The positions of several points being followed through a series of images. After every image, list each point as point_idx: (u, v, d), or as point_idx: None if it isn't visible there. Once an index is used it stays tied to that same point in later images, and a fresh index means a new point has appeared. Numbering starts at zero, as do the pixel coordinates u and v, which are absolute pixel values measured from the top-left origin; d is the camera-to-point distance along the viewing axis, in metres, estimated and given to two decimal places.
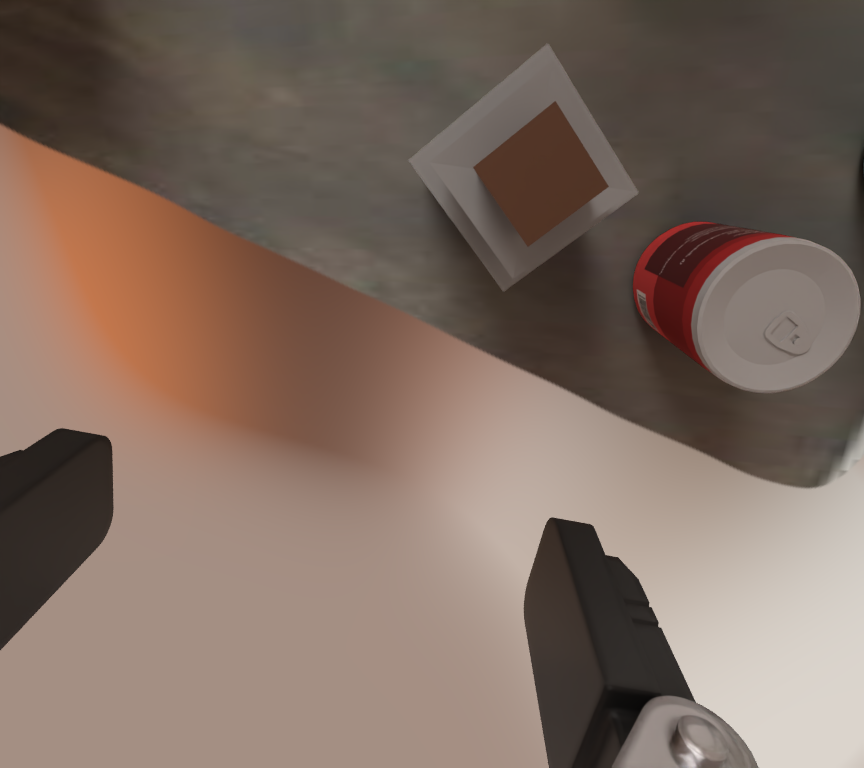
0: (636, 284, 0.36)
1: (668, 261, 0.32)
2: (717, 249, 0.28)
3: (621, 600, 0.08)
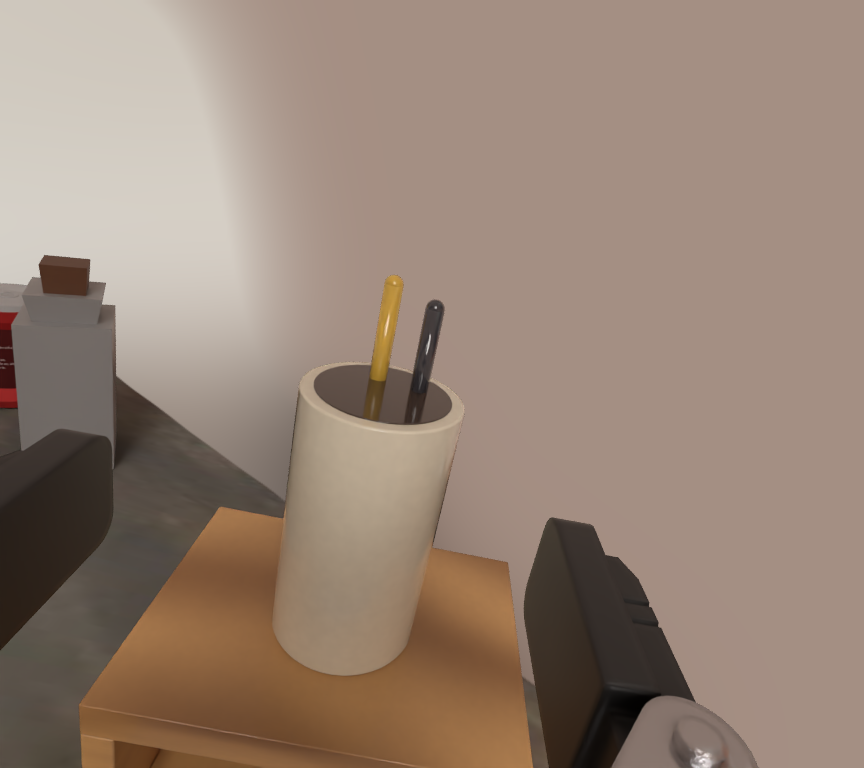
0: None
1: None
2: (3, 327, 0.53)
3: (621, 600, 0.08)
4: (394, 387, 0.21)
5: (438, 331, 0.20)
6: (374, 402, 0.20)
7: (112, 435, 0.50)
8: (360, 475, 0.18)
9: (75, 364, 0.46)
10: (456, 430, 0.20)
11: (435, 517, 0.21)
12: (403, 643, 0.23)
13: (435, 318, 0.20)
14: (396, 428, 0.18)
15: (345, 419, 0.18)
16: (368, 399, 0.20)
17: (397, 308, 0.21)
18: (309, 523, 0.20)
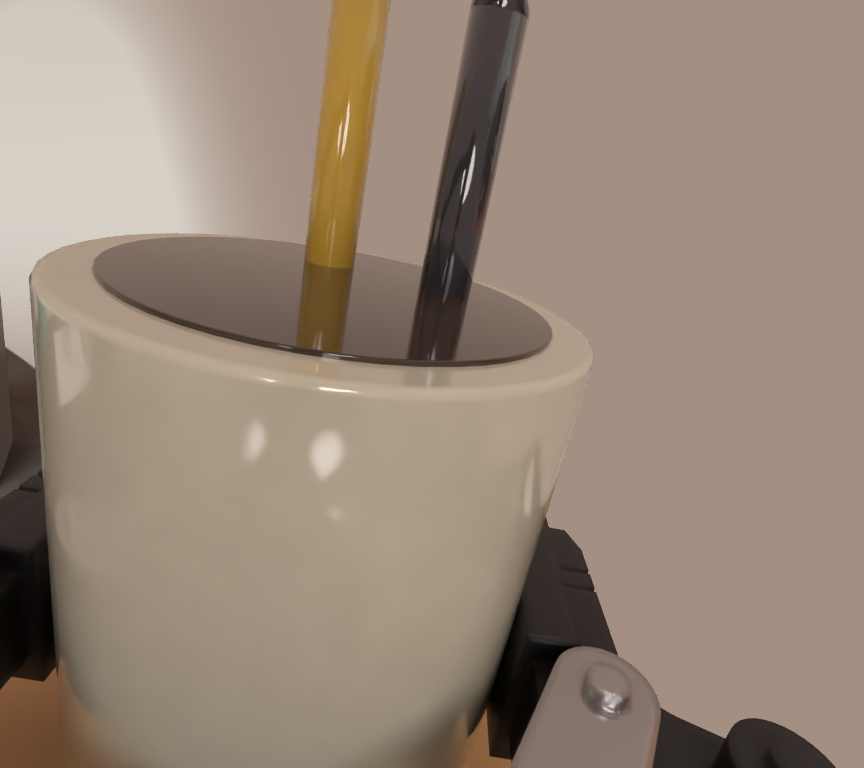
0: None
1: None
2: None
3: (557, 565, 0.08)
4: (374, 280, 0.07)
5: (509, 90, 0.07)
6: (301, 301, 0.06)
7: None
8: (230, 572, 0.04)
9: None
10: (581, 396, 0.06)
11: (499, 660, 0.07)
12: None
13: (502, 37, 0.06)
14: (374, 376, 0.04)
15: (146, 336, 0.04)
16: (281, 294, 0.06)
17: (379, 27, 0.07)
18: (86, 719, 0.06)
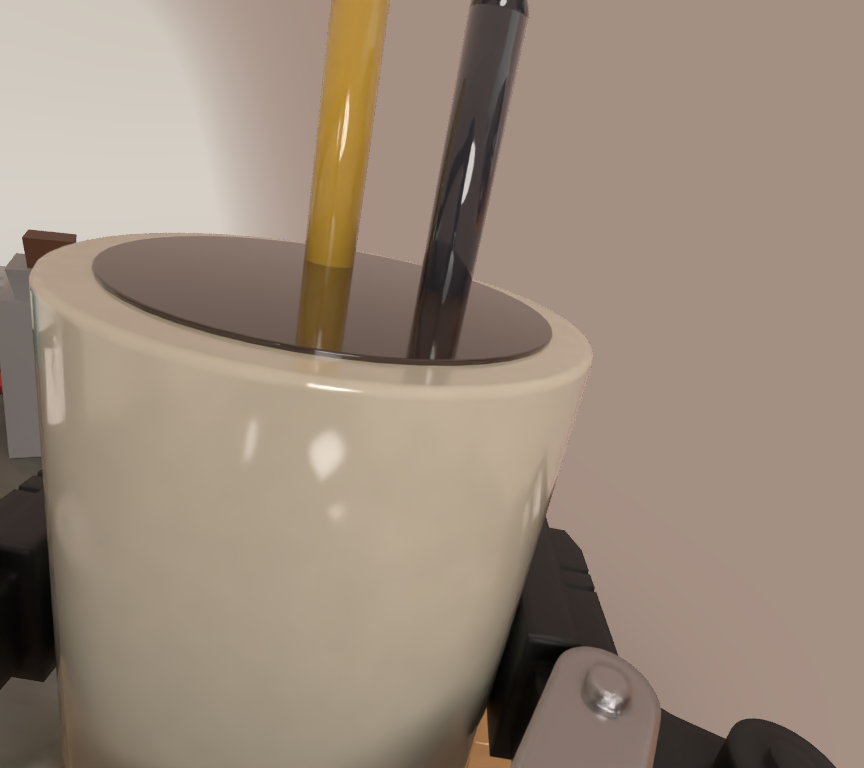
0: None
1: None
2: None
3: (557, 565, 0.08)
4: (374, 279, 0.07)
5: (508, 89, 0.07)
6: (301, 300, 0.06)
7: None
8: (229, 571, 0.04)
9: None
10: (581, 395, 0.06)
11: (499, 659, 0.07)
12: None
13: (501, 36, 0.06)
14: (374, 375, 0.04)
15: (145, 335, 0.04)
16: (281, 294, 0.06)
17: (379, 26, 0.07)
18: (86, 719, 0.06)
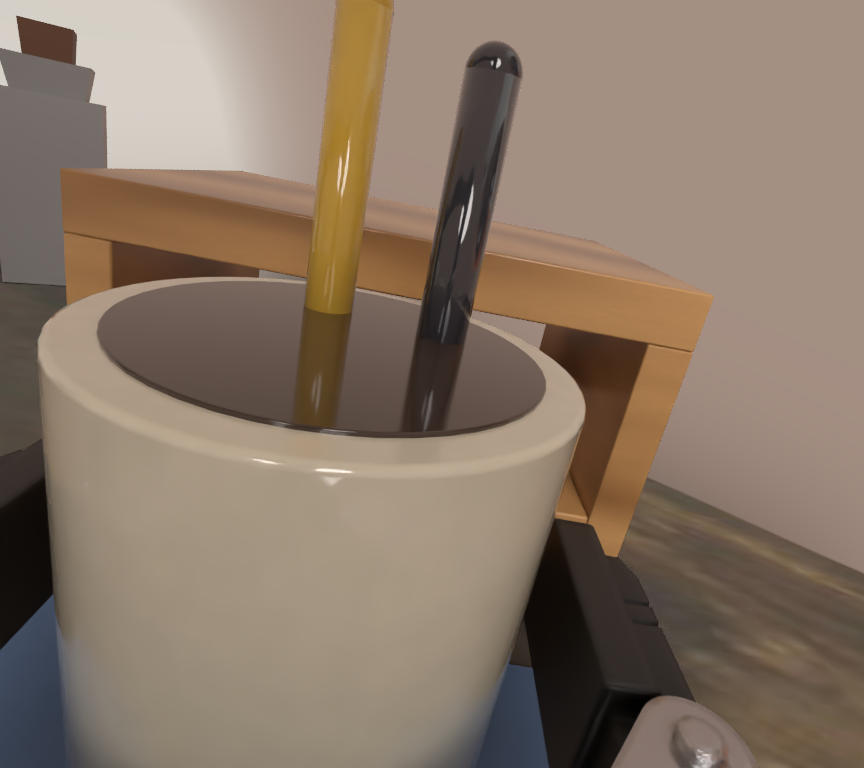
0: None
1: None
2: None
3: (621, 600, 0.08)
4: (372, 328, 0.07)
5: (503, 147, 0.07)
6: (300, 361, 0.06)
7: None
8: (231, 639, 0.05)
9: (60, 145, 0.40)
10: (573, 452, 0.06)
11: (495, 701, 0.07)
12: None
13: (496, 97, 0.06)
14: (370, 454, 0.04)
15: (151, 417, 0.04)
16: (281, 353, 0.06)
17: (377, 84, 0.07)
18: None
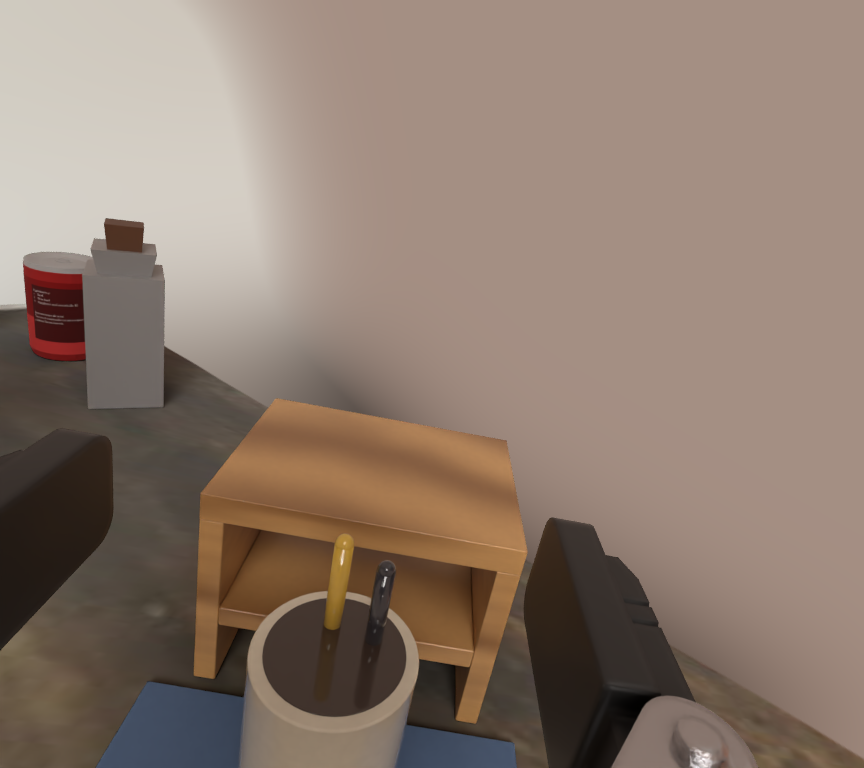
0: None
1: (79, 319, 0.63)
2: (62, 287, 0.61)
3: (621, 600, 0.08)
4: (348, 639, 0.21)
5: (390, 591, 0.20)
6: (323, 676, 0.19)
7: (162, 376, 0.57)
8: (307, 767, 0.18)
9: (133, 311, 0.53)
10: (408, 700, 0.19)
11: None
12: None
13: (386, 582, 0.20)
14: (342, 724, 0.18)
15: (289, 717, 0.18)
16: (317, 672, 0.19)
17: (348, 566, 0.20)
18: None
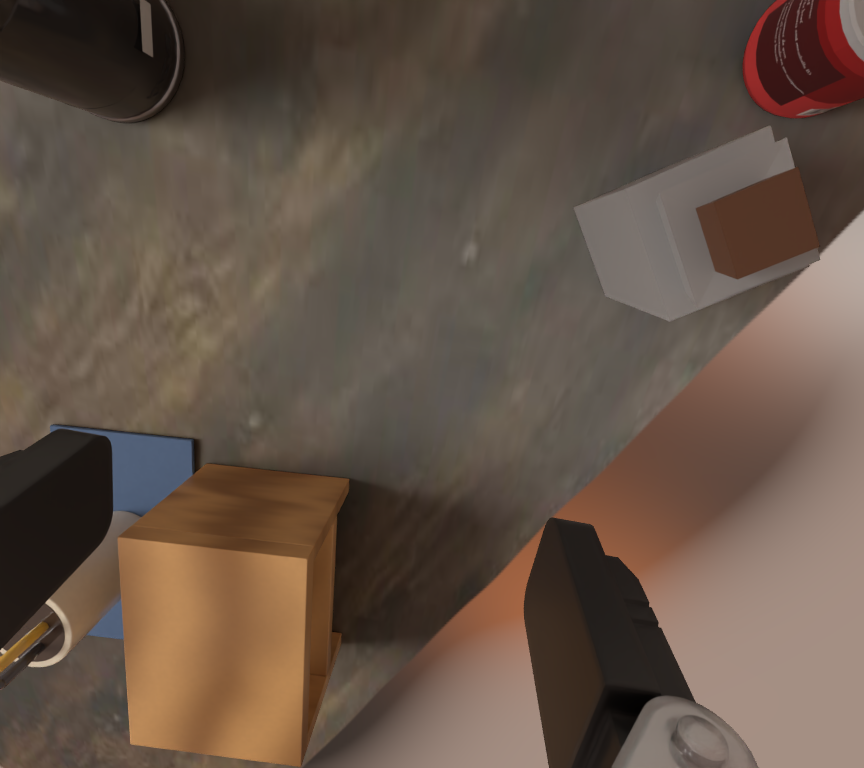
0: (790, 114, 0.35)
1: (794, 84, 0.32)
2: (822, 38, 0.28)
3: (621, 600, 0.08)
4: None
5: None
6: None
7: (617, 300, 0.37)
8: None
9: (633, 268, 0.30)
10: None
11: None
12: None
13: None
14: None
15: None
16: None
17: None
18: None
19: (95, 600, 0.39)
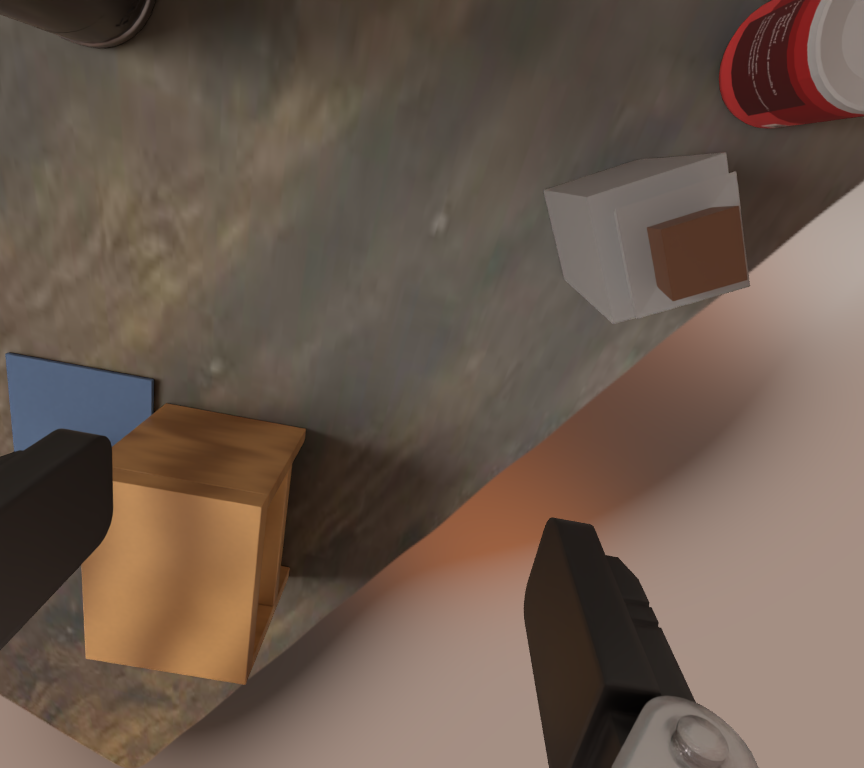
0: (756, 124, 0.37)
1: (761, 99, 0.33)
2: (789, 64, 0.29)
3: (621, 600, 0.08)
4: None
5: None
6: None
7: (573, 287, 0.39)
8: None
9: (588, 266, 0.32)
10: None
11: None
12: None
13: None
14: None
15: None
16: None
17: None
18: None
19: None
